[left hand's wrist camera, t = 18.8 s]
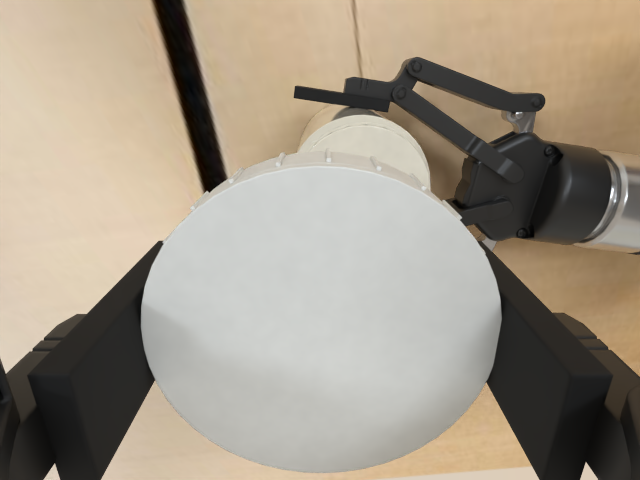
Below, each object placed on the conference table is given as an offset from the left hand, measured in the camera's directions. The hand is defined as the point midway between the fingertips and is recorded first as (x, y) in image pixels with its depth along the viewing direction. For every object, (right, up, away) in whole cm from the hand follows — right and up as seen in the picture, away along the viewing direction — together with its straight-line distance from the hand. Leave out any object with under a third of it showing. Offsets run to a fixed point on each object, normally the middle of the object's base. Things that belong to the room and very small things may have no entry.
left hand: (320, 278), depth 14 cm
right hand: (-2, +8, +17) cm, 19 cm away
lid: (0, -1, -3) cm, 3 cm away
